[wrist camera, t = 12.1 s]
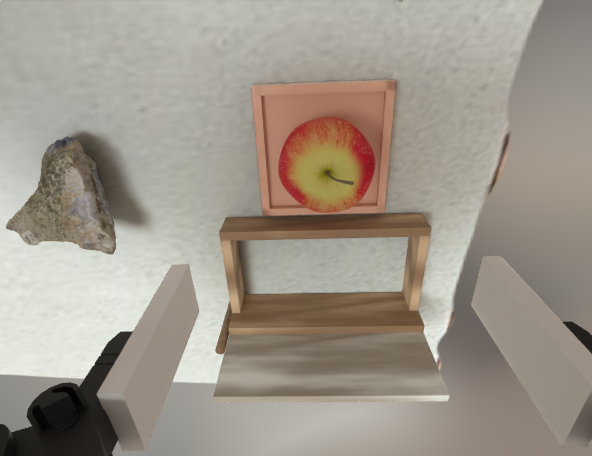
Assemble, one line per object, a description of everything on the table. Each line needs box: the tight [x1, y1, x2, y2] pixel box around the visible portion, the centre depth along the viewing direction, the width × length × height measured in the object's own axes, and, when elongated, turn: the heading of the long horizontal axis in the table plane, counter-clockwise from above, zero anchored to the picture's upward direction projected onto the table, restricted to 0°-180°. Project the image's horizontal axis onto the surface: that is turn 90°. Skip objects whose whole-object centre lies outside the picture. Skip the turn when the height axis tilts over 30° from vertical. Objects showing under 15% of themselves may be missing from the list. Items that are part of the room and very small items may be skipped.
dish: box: [251, 79, 396, 216], centre depth 35 cm, size 13×13×2 cm
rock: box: [6, 137, 116, 254], centre depth 36 cm, size 11×6×10 cm
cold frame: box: [213, 213, 449, 402], centre depth 36 cm, size 13×23×14 cm, turn 92°
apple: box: [278, 117, 375, 213], centre depth 31 cm, size 8×8×10 cm
